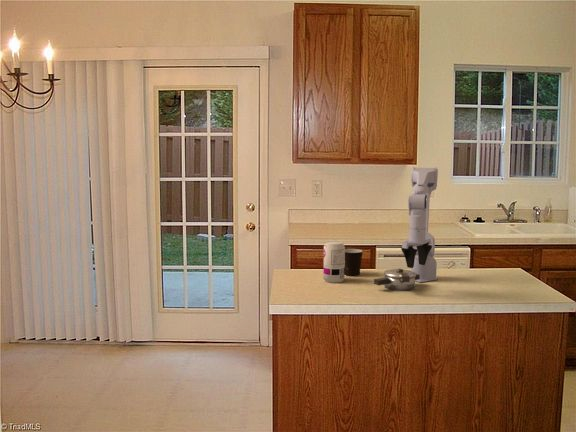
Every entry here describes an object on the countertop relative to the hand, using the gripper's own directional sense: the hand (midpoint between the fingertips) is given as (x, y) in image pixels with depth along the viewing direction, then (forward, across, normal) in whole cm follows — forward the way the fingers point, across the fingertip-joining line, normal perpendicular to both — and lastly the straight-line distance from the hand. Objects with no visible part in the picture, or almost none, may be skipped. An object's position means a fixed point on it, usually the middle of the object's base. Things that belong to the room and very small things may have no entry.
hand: (416, 266), depth 188 cm
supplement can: (+10, +9, -32) cm, 35 cm away
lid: (+5, -1, -7) cm, 9 cm away
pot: (+10, -1, -9) cm, 14 cm away
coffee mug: (+10, -5, -35) cm, 37 cm away
